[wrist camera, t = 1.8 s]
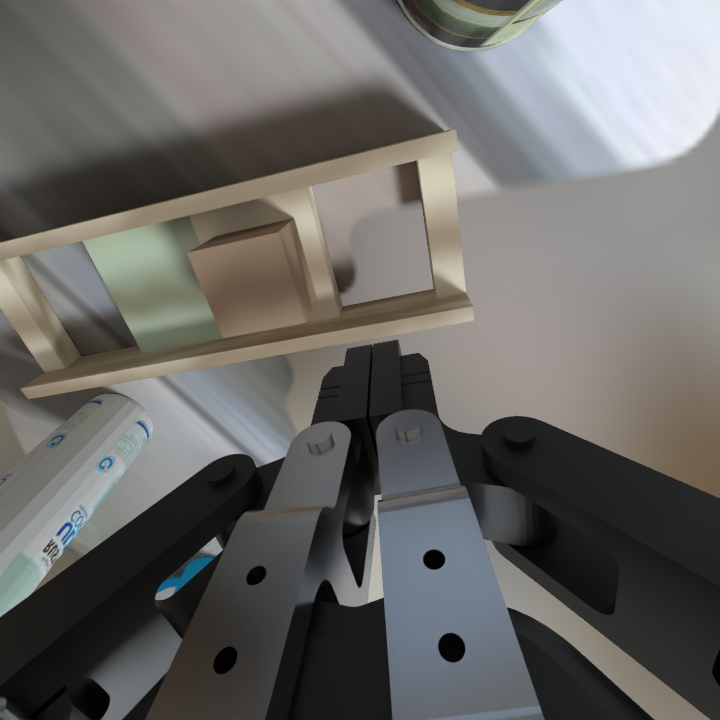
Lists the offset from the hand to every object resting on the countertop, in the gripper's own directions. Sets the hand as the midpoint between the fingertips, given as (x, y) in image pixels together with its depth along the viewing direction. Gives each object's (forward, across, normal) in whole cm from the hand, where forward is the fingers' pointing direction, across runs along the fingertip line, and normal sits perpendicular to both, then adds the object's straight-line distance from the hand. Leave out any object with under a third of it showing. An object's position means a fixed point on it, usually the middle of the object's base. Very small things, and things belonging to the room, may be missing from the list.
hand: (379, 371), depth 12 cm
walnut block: (+17, +8, 0) cm, 18 cm away
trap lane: (+19, +12, 0) cm, 22 cm away
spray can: (+19, +27, +11) cm, 35 cm away
